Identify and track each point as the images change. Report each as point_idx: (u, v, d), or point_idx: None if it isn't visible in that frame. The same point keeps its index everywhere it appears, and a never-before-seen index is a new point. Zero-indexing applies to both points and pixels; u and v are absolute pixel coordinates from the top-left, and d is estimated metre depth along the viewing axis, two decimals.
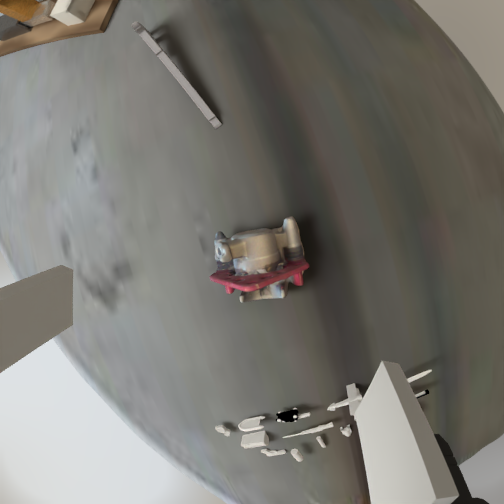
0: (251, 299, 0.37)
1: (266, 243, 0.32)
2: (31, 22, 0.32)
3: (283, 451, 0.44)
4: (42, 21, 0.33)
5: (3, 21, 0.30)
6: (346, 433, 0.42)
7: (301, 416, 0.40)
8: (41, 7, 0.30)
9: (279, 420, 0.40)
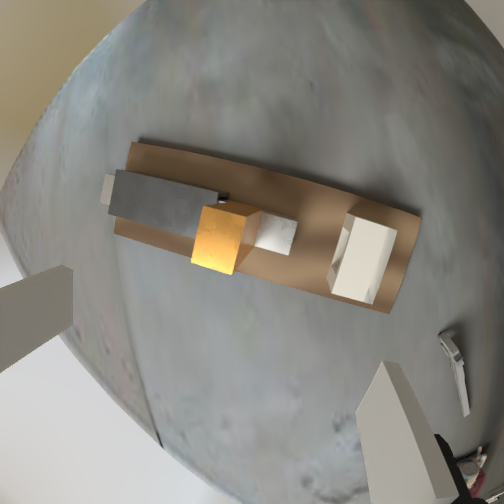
0: None
1: (476, 476, 0.31)
2: None
3: None
4: None
5: (146, 197, 0.30)
6: None
7: None
8: (278, 232, 0.29)
9: None
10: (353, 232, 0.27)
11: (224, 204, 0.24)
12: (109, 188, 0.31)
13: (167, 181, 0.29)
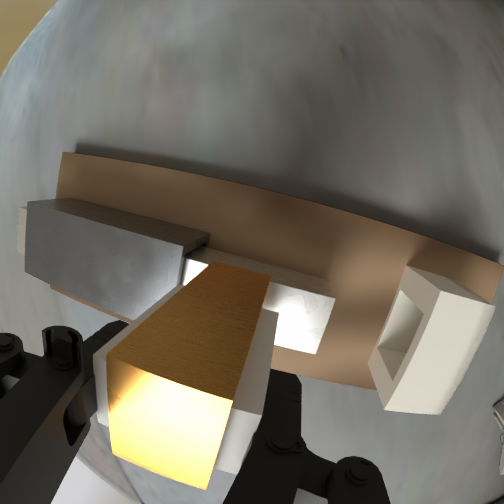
0: None
1: None
2: None
3: None
4: None
5: (68, 251, 0.16)
6: None
7: None
8: (298, 316, 0.15)
9: None
10: (433, 317, 0.13)
11: (185, 297, 0.10)
12: (25, 230, 0.17)
13: (96, 223, 0.15)
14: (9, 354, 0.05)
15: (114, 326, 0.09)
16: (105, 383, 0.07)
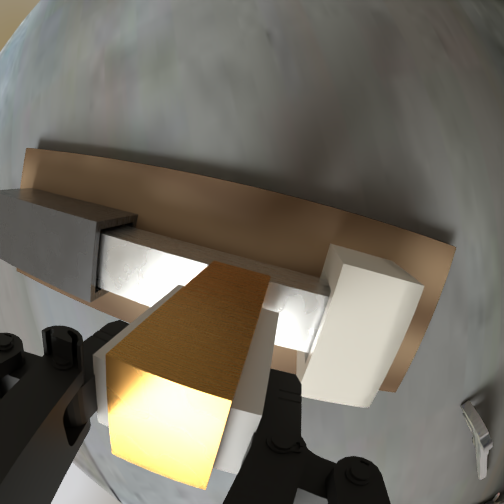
0: None
1: None
2: None
3: None
4: None
5: (18, 231, 0.16)
6: None
7: None
8: (298, 316, 0.15)
9: None
10: (338, 294, 0.14)
11: (184, 297, 0.10)
12: None
13: (36, 206, 0.16)
14: (9, 354, 0.05)
15: (114, 326, 0.09)
16: (105, 383, 0.07)
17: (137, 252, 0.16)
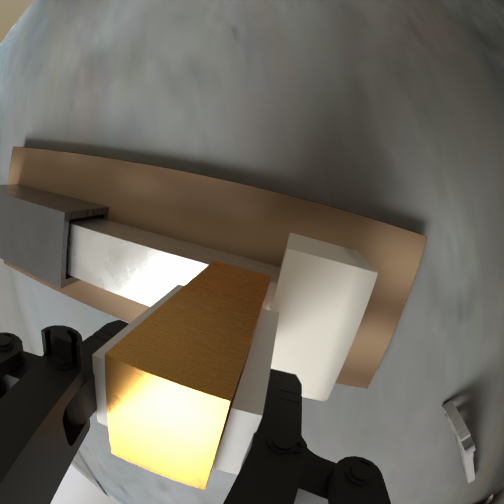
0: None
1: None
2: None
3: None
4: None
5: (1, 223, 0.17)
6: None
7: None
8: None
9: None
10: (283, 279, 0.14)
11: (184, 297, 0.10)
12: None
13: (16, 199, 0.16)
14: (9, 354, 0.05)
15: (113, 326, 0.09)
16: None
17: (137, 252, 0.16)
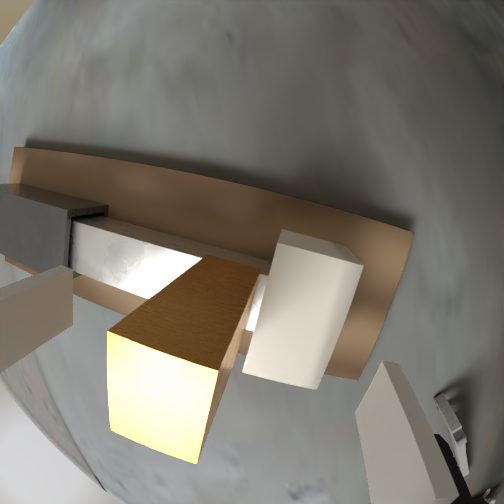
0: None
1: None
2: None
3: None
4: None
5: (4, 221, 0.17)
6: None
7: None
8: None
9: None
10: (274, 272, 0.15)
11: (179, 285, 0.11)
12: None
13: (19, 197, 0.17)
14: None
15: None
16: None
17: (135, 247, 0.17)
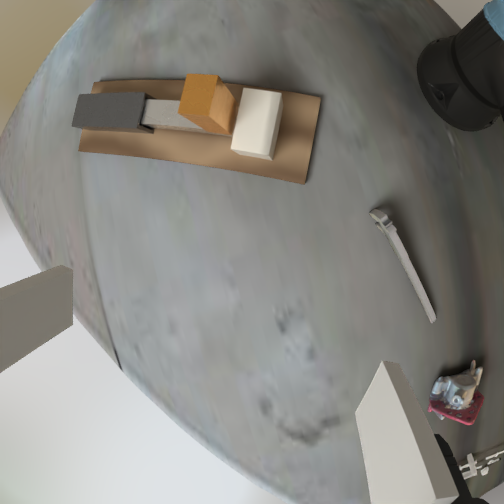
0: None
1: (474, 390, 0.35)
2: None
3: None
4: None
5: (97, 107, 0.35)
6: None
7: None
8: None
9: None
10: (242, 99, 0.32)
11: None
12: None
13: (112, 93, 0.34)
14: None
15: None
16: None
17: (180, 104, 0.34)
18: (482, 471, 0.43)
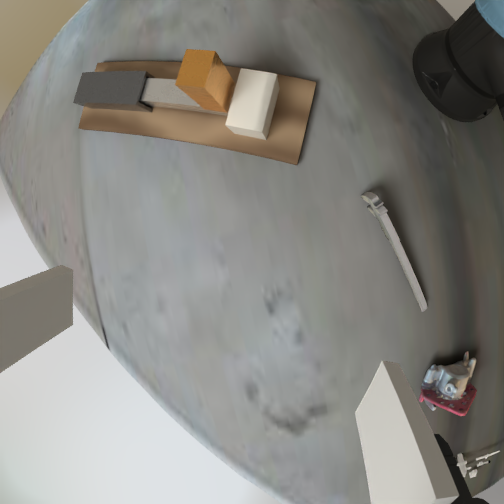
0: None
1: (467, 380, 0.35)
2: (217, 111, 0.36)
3: None
4: None
5: (99, 85, 0.34)
6: None
7: None
8: None
9: None
10: (239, 78, 0.32)
11: None
12: None
13: (114, 71, 0.34)
14: None
15: None
16: None
17: None
18: (470, 473, 0.44)
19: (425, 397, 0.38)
